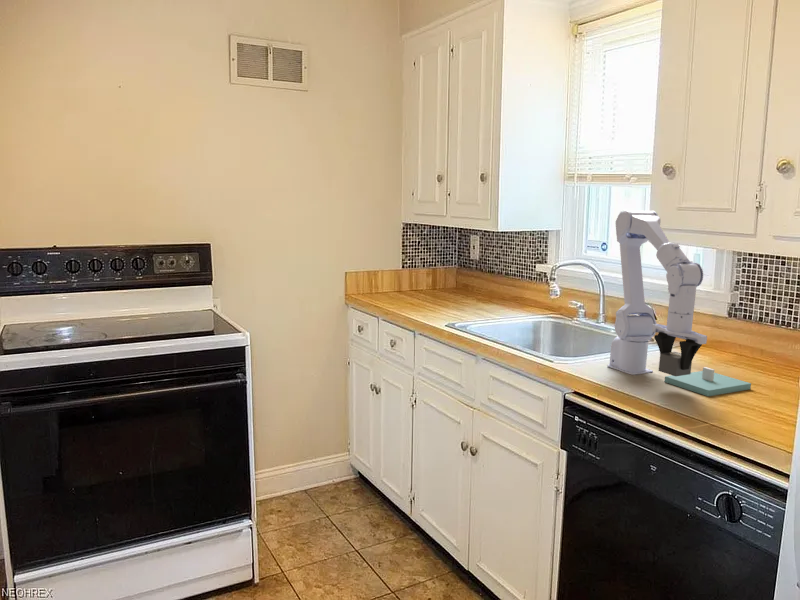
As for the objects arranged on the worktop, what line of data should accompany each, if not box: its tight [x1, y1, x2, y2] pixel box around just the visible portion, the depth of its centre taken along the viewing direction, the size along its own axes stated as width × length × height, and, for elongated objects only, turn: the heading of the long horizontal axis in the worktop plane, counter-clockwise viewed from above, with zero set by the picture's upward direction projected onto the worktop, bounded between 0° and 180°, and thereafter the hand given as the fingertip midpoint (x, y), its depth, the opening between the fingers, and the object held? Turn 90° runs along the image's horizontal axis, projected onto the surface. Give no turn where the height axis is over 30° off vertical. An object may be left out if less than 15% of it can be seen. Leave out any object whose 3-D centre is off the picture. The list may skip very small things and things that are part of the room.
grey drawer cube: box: [658, 351, 693, 376], centre depth 159 cm, size 5×5×5 cm
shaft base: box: [664, 366, 752, 397], centre depth 165 cm, size 13×16×4 cm
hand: (675, 366), depth 160 cm, fingers closed on grey drawer cube, 5 cm apart
